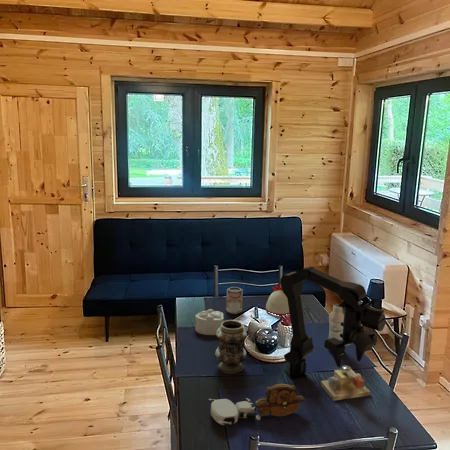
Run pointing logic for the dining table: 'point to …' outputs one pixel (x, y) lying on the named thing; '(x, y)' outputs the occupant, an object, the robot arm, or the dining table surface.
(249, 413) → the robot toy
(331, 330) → the plastic bottle
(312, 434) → the dining table surface
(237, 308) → the beige cylinder
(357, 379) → the lever
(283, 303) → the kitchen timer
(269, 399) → the wooden carving
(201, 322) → the lumpy-topped squat cylinder
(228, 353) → the apothecary jar
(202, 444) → the dining table surface
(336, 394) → the valve board
